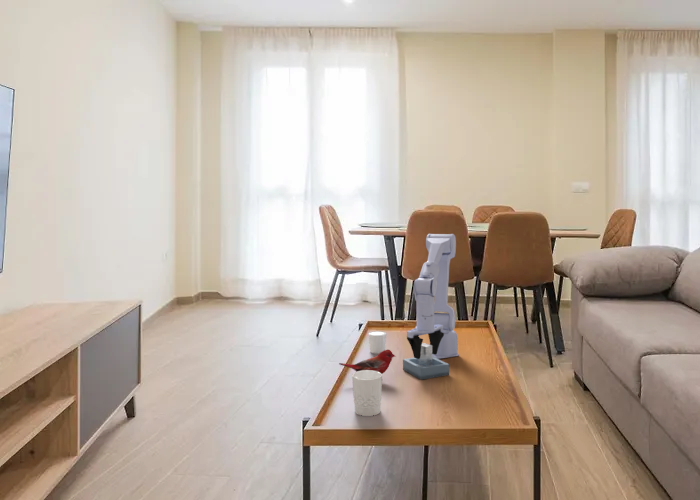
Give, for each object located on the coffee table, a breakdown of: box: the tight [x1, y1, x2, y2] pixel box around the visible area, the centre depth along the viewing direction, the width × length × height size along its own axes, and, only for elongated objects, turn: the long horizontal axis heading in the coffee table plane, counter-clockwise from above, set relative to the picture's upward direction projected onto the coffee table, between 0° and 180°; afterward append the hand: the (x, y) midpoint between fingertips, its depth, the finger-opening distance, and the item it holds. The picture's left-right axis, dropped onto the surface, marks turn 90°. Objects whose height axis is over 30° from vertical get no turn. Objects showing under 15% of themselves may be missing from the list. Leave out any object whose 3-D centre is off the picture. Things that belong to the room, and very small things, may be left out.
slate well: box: [402, 356, 450, 381], centre depth 168 cm, size 10×11×4 cm
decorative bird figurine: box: [338, 349, 397, 375], centre depth 159 cm, size 3×18×10 cm, turn 94°
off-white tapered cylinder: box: [368, 330, 387, 354], centre depth 193 cm, size 7×7×7 cm
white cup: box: [351, 370, 383, 417], centre depth 136 cm, size 8×8×10 cm
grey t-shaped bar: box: [417, 342, 433, 367], centre depth 168 cm, size 5×6×8 cm
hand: (425, 355), depth 167 cm, fingers open, 7 cm apart
